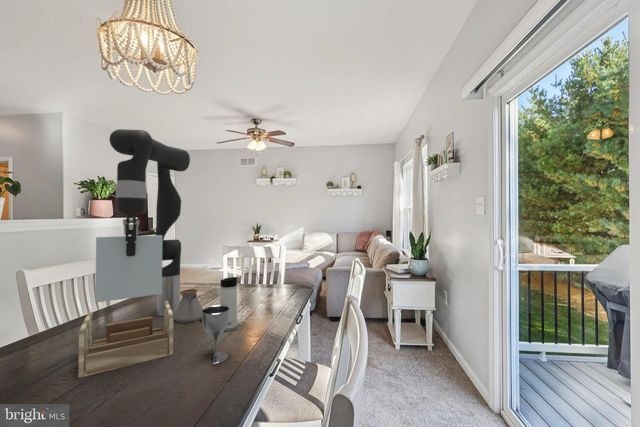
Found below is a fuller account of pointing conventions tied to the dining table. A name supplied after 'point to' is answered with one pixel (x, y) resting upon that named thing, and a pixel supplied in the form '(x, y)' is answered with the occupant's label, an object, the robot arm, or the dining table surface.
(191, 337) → the dining table surface
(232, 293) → the travel mug
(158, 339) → the rack
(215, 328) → the wine glass
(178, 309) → the coffee pot
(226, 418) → the dining table surface
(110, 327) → the offcut
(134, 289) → the blue-grey flat rectangular block
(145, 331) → the offcut
